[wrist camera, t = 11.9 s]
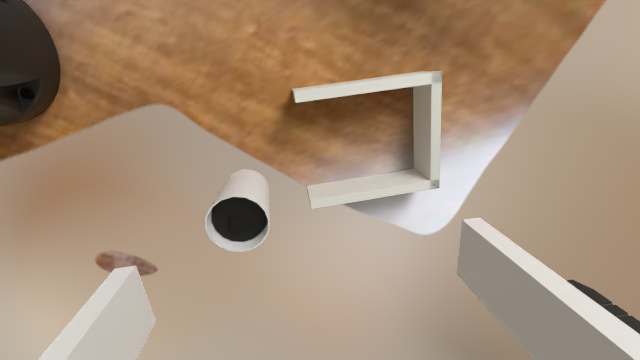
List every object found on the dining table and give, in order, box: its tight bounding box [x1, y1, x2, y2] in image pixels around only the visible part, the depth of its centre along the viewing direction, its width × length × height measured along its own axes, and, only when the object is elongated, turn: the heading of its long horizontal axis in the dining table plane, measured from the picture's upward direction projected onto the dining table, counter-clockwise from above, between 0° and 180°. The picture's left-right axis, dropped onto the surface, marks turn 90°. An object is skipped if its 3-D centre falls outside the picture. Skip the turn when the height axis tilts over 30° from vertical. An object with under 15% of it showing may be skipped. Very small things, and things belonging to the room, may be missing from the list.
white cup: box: [205, 169, 270, 252], centre depth 36 cm, size 7×7×10 cm
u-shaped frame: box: [292, 71, 442, 209], centre depth 37 cm, size 14×17×5 cm
